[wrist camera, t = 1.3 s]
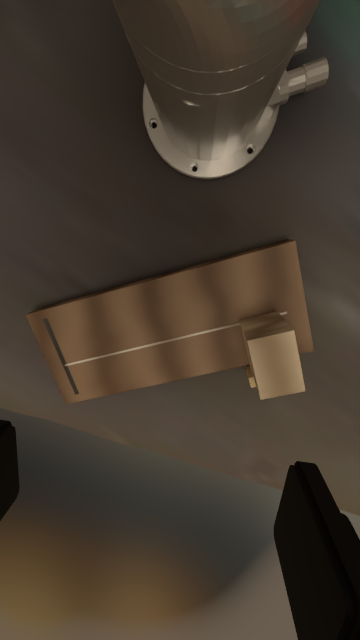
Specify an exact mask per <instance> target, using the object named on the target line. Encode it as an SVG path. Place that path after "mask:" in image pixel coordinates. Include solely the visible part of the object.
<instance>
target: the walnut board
mask: <svg viewBox="0 0 360 640" xmlns="http://www.w3.org/2000/svg"><path fill="white" fill-rule="evenodd" d="M275 311H278V312H279V314H280V315H281V316H282V317H283V318H284V319H285V320H286V321H287V323H288V324H289V325H290V326H291V327H292V328H293V329H294V332H295V337H296V342H297V348H298V353H299V354H301V353H306V352H310V351H314V350H313V344H312V338H311V332H310V326H309V320H308V314H307V307H306V301H305V295H304V289H303V283H302V277H301V271H300V265H299V259H298V253H297V247H296V241H294V240H286V241H282V242H278V243H275V244H271V245H267V246H264V247H260V248H257V249H253V250H249V251H246V252H242V253H238V254H235V255H231V256H228V257H224V258H220V259H217V260H213V261H209V262H206V263H202V264H199V265H195V266H191V267H188V268H184V269H180V270H177V271H173V272H170V273H166V274H162V275H159V276H155V277H152V278H148V279H144V280H141V281H137V282H133V283H130V284H126V285H123V286H119V287H115V288H112V289H108V290H104V291H101V292H97V293H94V294H90V295H86V296H83V297H79V298H75V299H72V300H68V301H65V302H61V303H57V304H54V305H50V306H46V307H43V308H39V309H37V310H34V311H32V312H30V313H28V314H26V316H27V318H28V321H29V323H30V325H31V327H32V330H33V332H34V334H35V336H36V339H37V341H38V343H39V345H40V348H41V350H42V352H43V354H44V357H45V359H46V361H47V363H48V365H49V368H50V370H51V372H52V374H53V377H54V379H55V381H56V383H57V386H58V388H59V390H60V392H61V395H62V397H63V399H64V401H65V403H66V404H69V403H73V402H78V401H83V400H87V399H92V398H97V397H101V396H106V395H110V394H115V393H120V392H124V391H129V390H134V389H138V388H143V387H148V386H152V385H157V384H162V383H166V382H171V381H175V380H180V379H185V378H189V377H194V376H199V375H203V374H208V373H213V372H217V371H222V370H227V369H231V368H236V367H241V366H245V365H250V364H249V360H248V355H247V351H246V347H245V343H244V338H243V334H242V330H241V326H240V321H239V320H242V319H246V318H250V317H255V316H259V315H263V314H267V313H271V312H275Z"/></svg>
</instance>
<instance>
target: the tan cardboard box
mask: <svg viewBox="0 0 360 640" xmlns="http://www.w3.org/2000/svg"><path fill="white" fill-rule="evenodd" d="M239 321H240V326H241V330H242V334H243V338H244V343H245V347H246V351H247V355H248V360H249V364H250V365H245V369H246V372H247V376H248V379H249V382H250V386H251V388H252V387H257V390H258V393H259V396H260V399H261V400H262V399H267V398H273V397H278V396H283V395H288V394H293V393H298V392H303V391H305V386H304V381H303V375H302V370H301V364H300V359H299V353H298V348H297V342H296V337H295V332H294V329H293V328H292V327H291V326H290V325H289V324H288V323H287V321H286V320H285V319H284V318H283V317H282V316H281V315H280V314H279V312H278V311H275V312H271V313H267V314H263V315H259V316H255V317H250V318H246V319H242V320H239Z"/></svg>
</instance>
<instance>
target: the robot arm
mask: <svg viewBox="0 0 360 640" xmlns="http://www.w3.org/2000/svg"><path fill="white" fill-rule="evenodd" d="M320 1H321V0H112V2H113V4H114V7H115V9H116V11H117V14H118V16H119V19H120V21H121V24H122V26H123V29H124V31H125V34H126V36H127V39H128V41H129V44H130V46H131V49H132V51H133V54H134V56H135V59H136V61H137V64H138V66H139V69H140V71H141V74H142V76H143V79H144V81H145V83H144V89H143V115H144V122H145V126H146V129H147V132H148V135H149V138H150V140H151V142H152V144H153V146H154V147H155V149H156V151H157V152H158V153H159V155H160V156H161V157H162V158H163V160H164V161H165V162H166V163H167V164H168V165H169V166H171V167H172V168H173V169H175V170H176V171H178V172H179V173H181V174H183V175H186V176H188V177H191V178H195V179H200V180H214V179H219V178H224V177H227V176H229V175H232V174H234V173H236V172H238V171H239V170H241V169H242V168H244V167H245V166H247V165H248V164H249V163H250V162H251V161H252V160H253V159H254V158H255V157H256V156H257V155H258V154H259V152H260V151H261V150H262V149H263V147H264V146H265V144H266V142H267V140H268V139H269V137H270V135H271V133H272V131H273V128H274V126H275V123H276V120H277V116H278V111H279V107H280V105H282V104H285V103H287V101H288V99H289V96H292V95H295V94H298V93H305V92H308V91H311V90H314V89H317V88H320V87H323V86H325V84H326V83H327V80H328V73H329V67H328V61H327V58H325V57H322V58H319V59H316V60H314V61H311V62H308V63H306V64H303V65H301V66H300V67H299V68H296V69H293V70H290V71H288V72H287V70H286V68H287V66H288V64H289V62H290V60H291V58H292V57H293V56H296V55H298V54H301V53H304V52H305V51H306V48H307V34H306V31H305V30H306V29H307V27H308V25H309V23H310V21H311V19H312V17H313V15H314V13H315V11H316V9H317V7H318V5H319V3H320ZM153 124H157V127H156V128H155V129H153V128H152V126H153ZM248 149H251V150H252V153H251V154H248V153H247V150H248ZM193 167H197V171H196V172H193V171H192V169H193ZM18 493H19V475H18V460H17V445H16V431H15V427H13V426H12V424H11V422H10V421H5V420H0V521H1V519H2V518H3V516H4V515H5V514H6V512H7V511H8V509H9V508H10V507H11V505H12V503H13V502H14V501H15V499H16V498H17V495H18ZM274 539H275V544H276V548H277V552H278V556H279V561H280V565H281V569H282V573H283V578H284V582H285V586H286V590H287V594H288V598H289V603H290V607H291V611H292V615H293V620H294V624H295V628H296V632H297V637H298V640H360V540H359V538H358V536H357V534H356V532H355V530H354V528H353V526H352V525H351V522H350V521H349V519H348V518H347V516H346V515H344V514H342V513H340V511H339V509H338V507H337V505H336V503H335V501H334V499H333V497H332V495H331V493H330V491H329V489H328V487H327V485H326V483H325V481H324V479H323V477H322V475H321V473H320V471H319V469H318V467H317V465H316V464H314V463H307V462H300V461H296V463H295V465H290V467H289V470H288V473H287V477H286V481H285V485H284V489H283V493H282V497H281V501H280V505H279V509H278V512H277V516H276V520H275V524H274Z"/></svg>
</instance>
